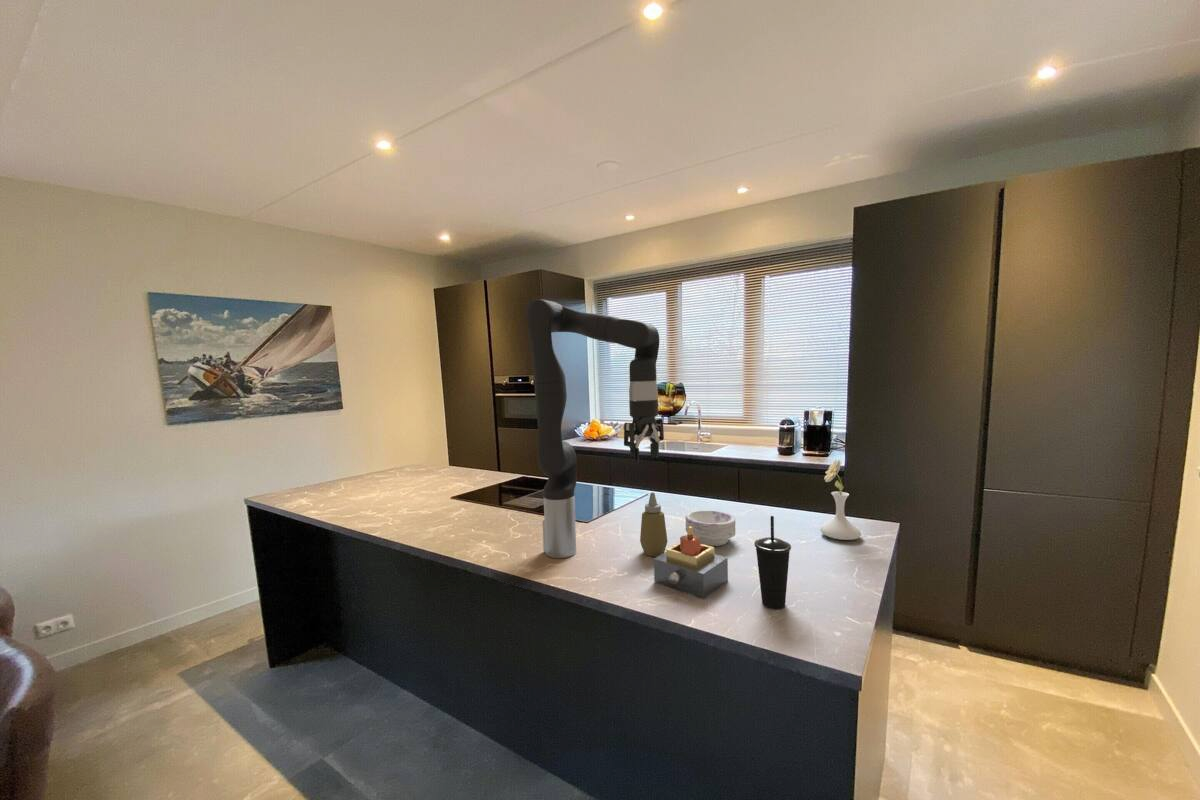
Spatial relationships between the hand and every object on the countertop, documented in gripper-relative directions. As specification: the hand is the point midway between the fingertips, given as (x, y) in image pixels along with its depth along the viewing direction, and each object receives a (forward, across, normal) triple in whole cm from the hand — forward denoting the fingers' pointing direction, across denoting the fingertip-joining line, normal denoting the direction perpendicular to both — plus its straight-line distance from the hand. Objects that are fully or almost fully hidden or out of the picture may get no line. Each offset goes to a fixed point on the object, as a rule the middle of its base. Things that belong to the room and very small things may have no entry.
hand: (645, 459), depth 117 cm
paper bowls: (+30, -30, +2) cm, 43 cm away
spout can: (+29, -2, +12) cm, 32 cm away
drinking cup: (+30, -4, +32) cm, 44 cm away
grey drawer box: (+30, -2, +12) cm, 32 cm away
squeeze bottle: (+30, -11, -6) cm, 33 cm away
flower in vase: (+30, -57, +32) cm, 72 cm away
